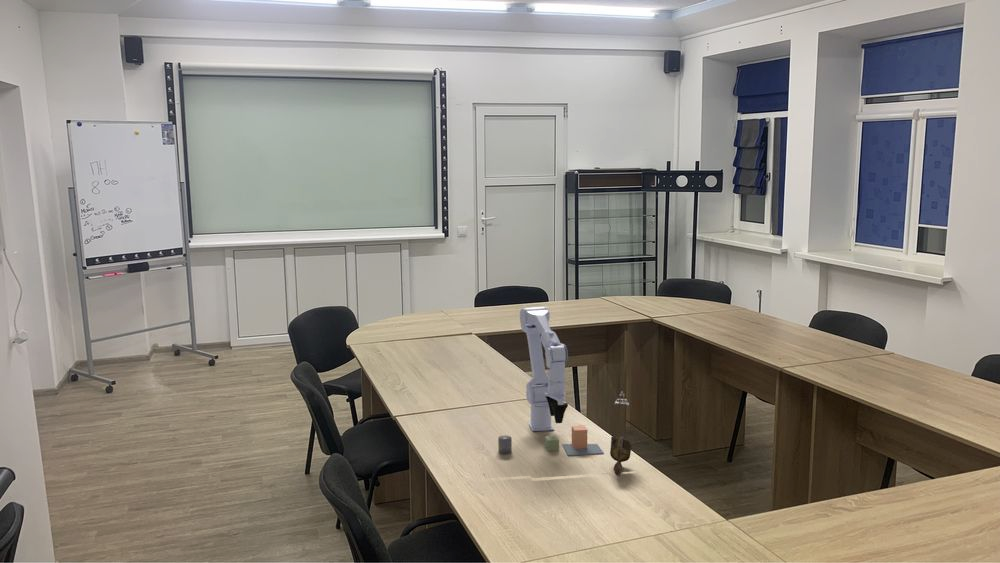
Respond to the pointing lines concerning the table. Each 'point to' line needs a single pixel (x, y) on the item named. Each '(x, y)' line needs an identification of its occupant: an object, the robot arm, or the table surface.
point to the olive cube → (552, 443)
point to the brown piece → (620, 452)
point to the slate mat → (582, 450)
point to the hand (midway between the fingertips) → (556, 419)
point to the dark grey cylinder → (505, 444)
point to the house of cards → (622, 400)
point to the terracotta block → (579, 437)
